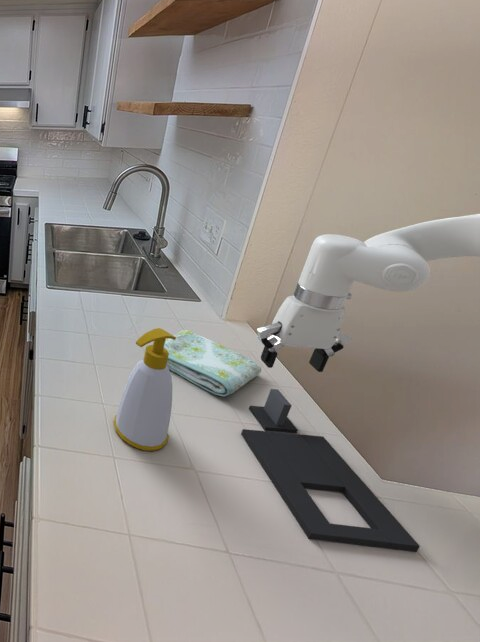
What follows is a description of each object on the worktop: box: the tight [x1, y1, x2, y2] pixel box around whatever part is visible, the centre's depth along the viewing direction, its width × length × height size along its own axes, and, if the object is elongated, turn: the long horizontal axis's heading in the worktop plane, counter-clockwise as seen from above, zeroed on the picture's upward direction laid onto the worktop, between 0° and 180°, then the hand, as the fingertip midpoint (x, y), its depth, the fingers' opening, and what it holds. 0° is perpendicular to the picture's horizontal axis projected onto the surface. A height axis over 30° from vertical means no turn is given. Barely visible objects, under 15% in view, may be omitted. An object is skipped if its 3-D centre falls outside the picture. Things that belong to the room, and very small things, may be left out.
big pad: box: [240, 428, 421, 553], centre depth 73 cm, size 16×22×2 cm
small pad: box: [248, 388, 299, 434], centre depth 87 cm, size 7×7×7 cm
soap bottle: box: [113, 327, 176, 452], centre depth 81 cm, size 11×12×26 cm
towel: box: [164, 329, 262, 397], centre depth 105 cm, size 18×21×5 cm
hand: (290, 365), depth 83 cm, fingers open, 9 cm apart
